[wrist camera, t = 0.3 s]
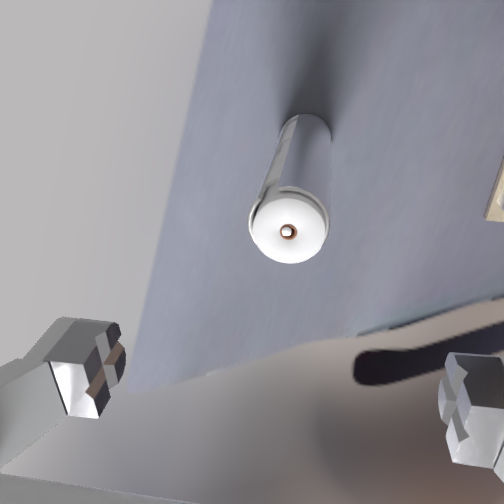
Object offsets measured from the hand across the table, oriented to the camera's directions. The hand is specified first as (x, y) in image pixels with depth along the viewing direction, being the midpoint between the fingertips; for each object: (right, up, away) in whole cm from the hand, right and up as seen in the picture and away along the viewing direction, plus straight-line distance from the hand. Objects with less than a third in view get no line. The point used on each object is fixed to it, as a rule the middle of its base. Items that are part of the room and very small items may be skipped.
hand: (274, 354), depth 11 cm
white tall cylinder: (+6, +17, +44) cm, 47 cm away
